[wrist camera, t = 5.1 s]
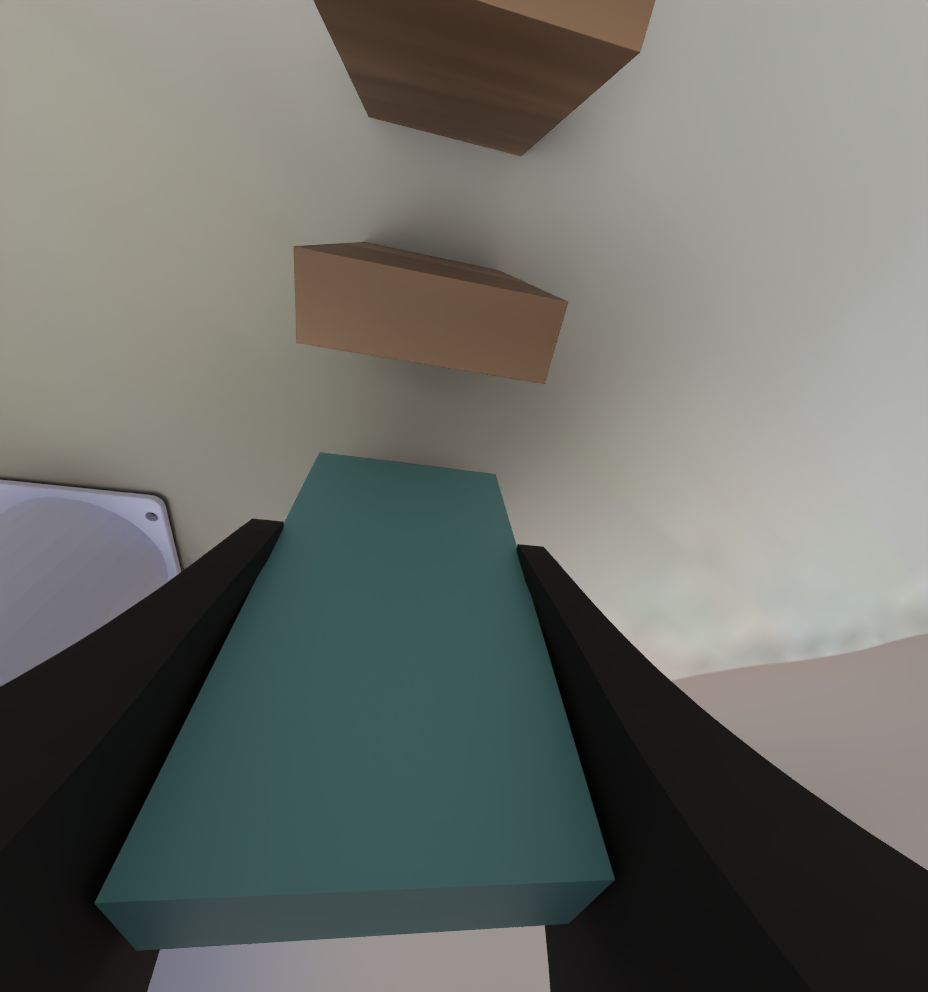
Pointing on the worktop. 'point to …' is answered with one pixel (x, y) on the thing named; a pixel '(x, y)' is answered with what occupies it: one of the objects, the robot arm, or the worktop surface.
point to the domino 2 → (424, 310)
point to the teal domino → (370, 738)
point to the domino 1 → (483, 61)
